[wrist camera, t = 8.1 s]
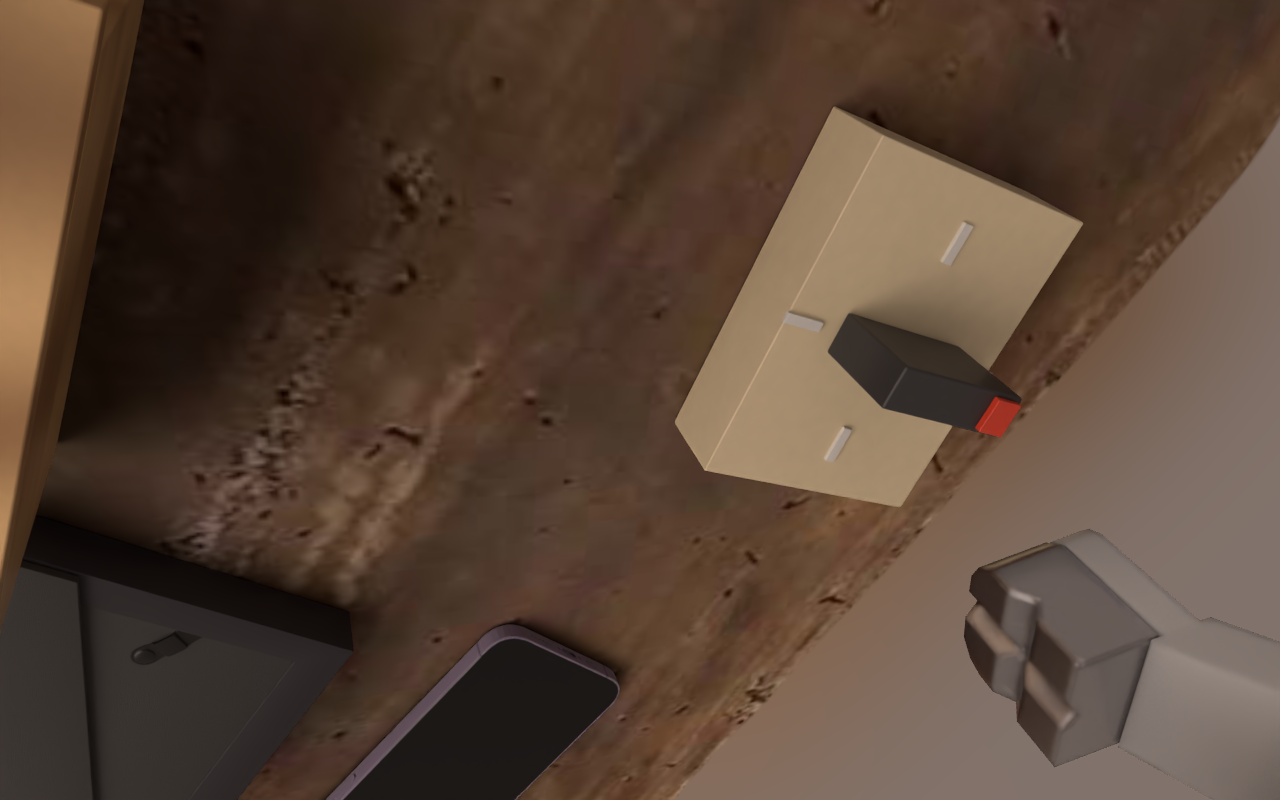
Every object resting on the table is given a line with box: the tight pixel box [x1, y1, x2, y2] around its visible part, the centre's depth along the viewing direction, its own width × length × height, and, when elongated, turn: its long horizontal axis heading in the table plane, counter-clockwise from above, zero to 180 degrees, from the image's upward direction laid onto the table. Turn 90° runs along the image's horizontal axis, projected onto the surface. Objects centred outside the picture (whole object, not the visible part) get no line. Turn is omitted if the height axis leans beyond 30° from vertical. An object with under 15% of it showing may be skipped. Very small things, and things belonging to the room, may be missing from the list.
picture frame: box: [0, 516, 354, 800], centre depth 32 cm, size 13×2×18 cm
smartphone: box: [326, 625, 620, 800], centre depth 40 cm, size 7×1×15 cm
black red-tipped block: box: [828, 313, 1022, 437], centre depth 30 cm, size 5×2×4 cm, turn 65°
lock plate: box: [675, 107, 1083, 507], centre depth 33 cm, size 12×9×3 cm
